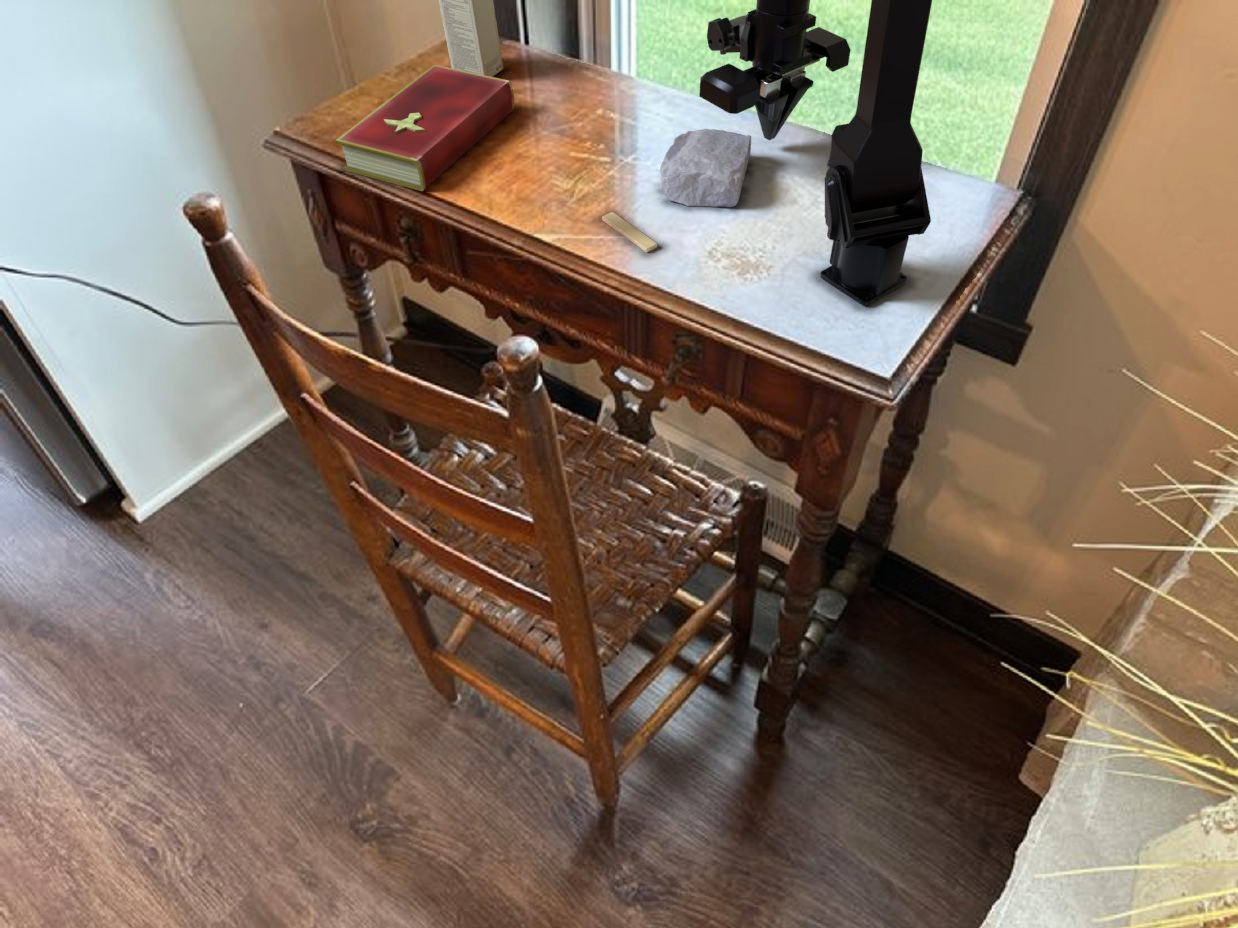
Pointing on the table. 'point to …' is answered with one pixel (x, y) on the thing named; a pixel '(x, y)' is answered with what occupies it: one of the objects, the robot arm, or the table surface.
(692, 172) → the stone block
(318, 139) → the table surface
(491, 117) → the hardcover book
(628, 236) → the maple strip
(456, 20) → the cosmetic box
